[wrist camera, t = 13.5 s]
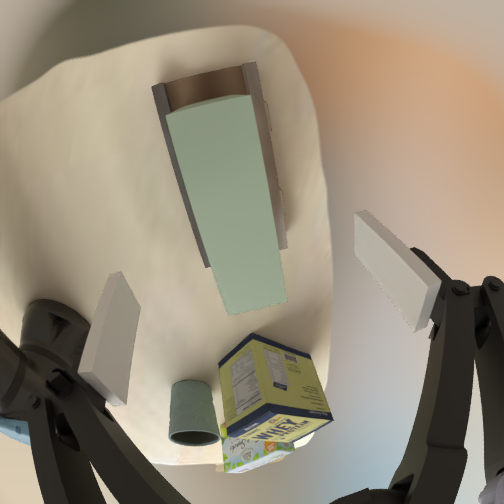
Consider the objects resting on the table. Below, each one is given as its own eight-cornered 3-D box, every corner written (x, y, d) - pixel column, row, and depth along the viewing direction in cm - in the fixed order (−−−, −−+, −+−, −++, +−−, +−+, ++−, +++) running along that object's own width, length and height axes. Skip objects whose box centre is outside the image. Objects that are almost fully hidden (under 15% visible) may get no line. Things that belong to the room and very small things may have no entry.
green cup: (167, 376, 51) (166, 429, 41) (217, 378, 53) (223, 430, 43) (170, 399, 56) (170, 446, 46) (214, 400, 58) (218, 446, 48)
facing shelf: (205, 254, 37) (205, 268, 35) (156, 87, 25) (151, 86, 22) (284, 235, 37) (290, 247, 35) (253, 64, 25) (258, 61, 23)
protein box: (277, 380, 57) (293, 443, 44) (216, 362, 50) (224, 437, 37) (311, 354, 53) (336, 420, 40) (250, 331, 46) (267, 412, 33)
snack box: (265, 393, 59) (277, 450, 46) (283, 396, 61) (297, 450, 49) (218, 425, 67) (224, 473, 54) (235, 428, 69) (242, 474, 56)
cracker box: (184, 106, 26) (165, 115, 14) (233, 94, 26) (254, 94, 14) (219, 234, 35) (228, 316, 23) (260, 224, 35) (289, 301, 23)
